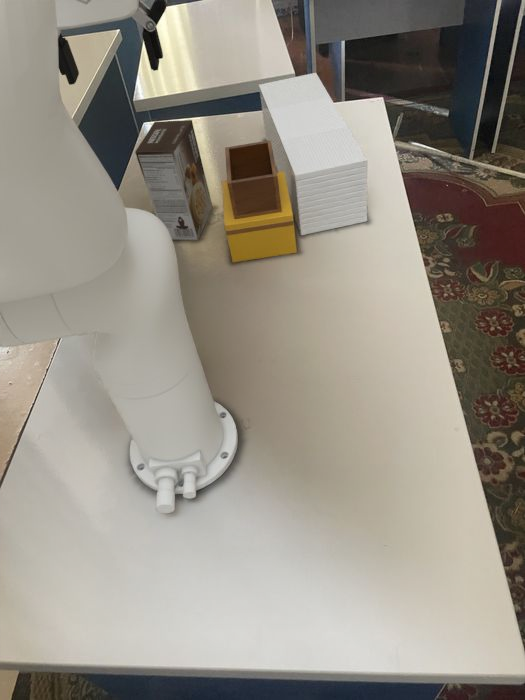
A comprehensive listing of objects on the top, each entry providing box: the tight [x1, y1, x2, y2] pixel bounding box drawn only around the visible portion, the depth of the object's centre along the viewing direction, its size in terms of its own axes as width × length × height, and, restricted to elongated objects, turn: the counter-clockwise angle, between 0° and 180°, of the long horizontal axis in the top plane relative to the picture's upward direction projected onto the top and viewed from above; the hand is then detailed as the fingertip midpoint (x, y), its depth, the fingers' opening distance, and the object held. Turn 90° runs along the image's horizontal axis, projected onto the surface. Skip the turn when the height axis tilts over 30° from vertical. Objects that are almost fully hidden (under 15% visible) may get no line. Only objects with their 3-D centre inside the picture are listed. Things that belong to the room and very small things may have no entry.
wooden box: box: [224, 140, 282, 219], centre depth 84 cm, size 10×7×6 cm
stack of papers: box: [258, 72, 368, 236], centre depth 96 cm, size 32×11×11 cm, turn 10°
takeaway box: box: [221, 171, 298, 263], centre depth 89 cm, size 12×10×7 cm
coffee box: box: [134, 119, 214, 241], centre depth 90 cm, size 9×6×16 cm
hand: (115, 72), depth 66 cm, fingers open, 9 cm apart
